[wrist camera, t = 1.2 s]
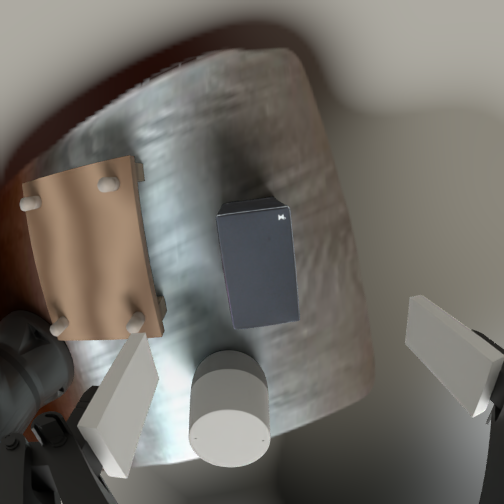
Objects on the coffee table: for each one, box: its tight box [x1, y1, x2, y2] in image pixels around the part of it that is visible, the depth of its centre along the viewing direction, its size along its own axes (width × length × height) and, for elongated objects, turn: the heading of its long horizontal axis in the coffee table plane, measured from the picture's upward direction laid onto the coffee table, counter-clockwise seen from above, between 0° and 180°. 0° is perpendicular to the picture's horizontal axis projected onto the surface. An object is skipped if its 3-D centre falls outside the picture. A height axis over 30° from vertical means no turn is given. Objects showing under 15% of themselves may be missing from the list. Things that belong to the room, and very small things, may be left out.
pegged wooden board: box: [20, 155, 167, 340], centre depth 31 cm, size 14×19×8 cm
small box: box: [216, 196, 300, 329], centre depth 31 cm, size 11×6×10 cm, turn 7°
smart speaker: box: [189, 350, 270, 467], centre depth 33 cm, size 10×9×14 cm
